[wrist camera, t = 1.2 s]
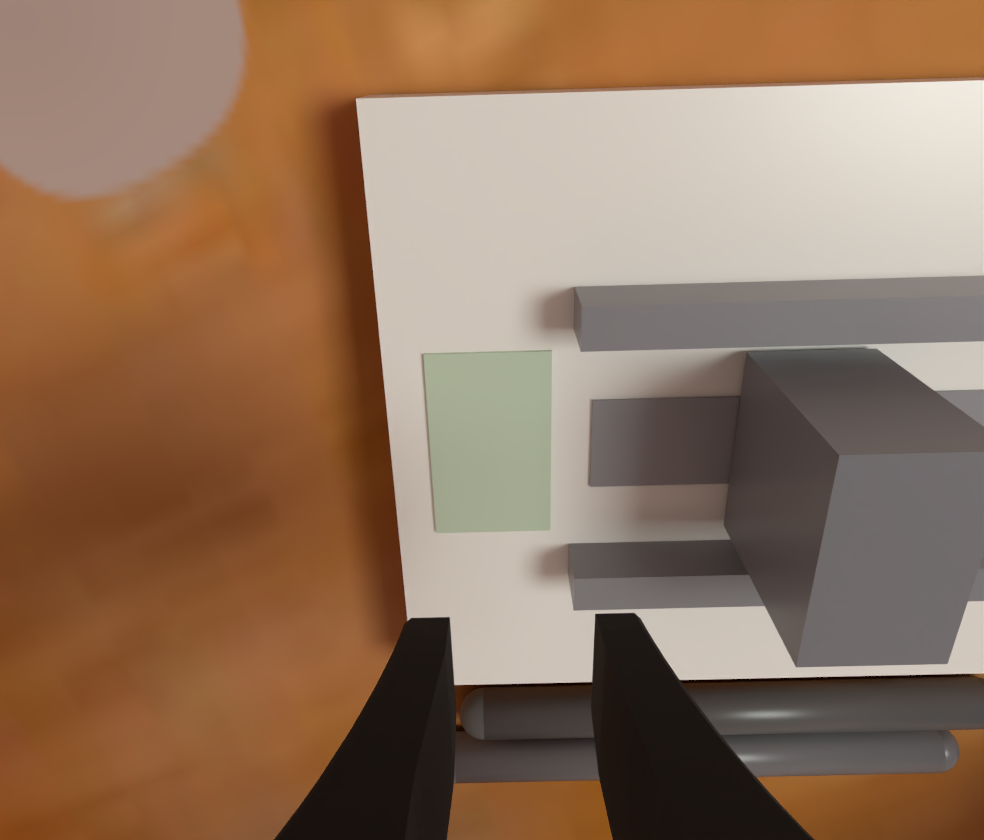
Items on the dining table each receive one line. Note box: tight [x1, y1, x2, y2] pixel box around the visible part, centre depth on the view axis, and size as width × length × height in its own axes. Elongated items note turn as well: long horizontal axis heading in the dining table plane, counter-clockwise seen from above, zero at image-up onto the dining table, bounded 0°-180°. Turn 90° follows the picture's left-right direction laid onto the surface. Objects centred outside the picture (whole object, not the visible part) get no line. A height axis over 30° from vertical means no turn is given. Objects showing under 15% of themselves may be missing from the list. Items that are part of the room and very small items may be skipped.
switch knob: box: [724, 348, 984, 667], centre depth 16 cm, size 3×5×5 cm, turn 2°
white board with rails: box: [356, 77, 984, 783], centre depth 20 cm, size 20×21×4 cm
